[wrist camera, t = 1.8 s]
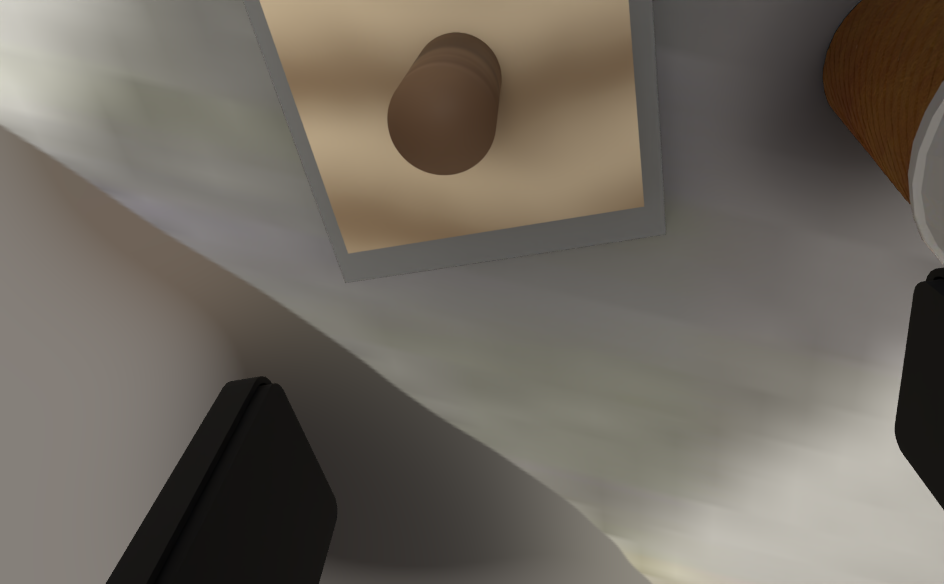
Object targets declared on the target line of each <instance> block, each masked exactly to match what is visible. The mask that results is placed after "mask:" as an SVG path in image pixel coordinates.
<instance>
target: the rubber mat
mask: <svg viewBox="0 0 944 584" xmlns="http://www.w3.org/2000/svg"><path fill="white" fill-rule="evenodd" d="M243 3H244V5H245V8H246V11H247V14H248V16H249V19H250V22H251V25H252V27H253V30H254V33H255V36H256V38H257V41H258V44H259V47H260V49H261V52H262V55H263V58H264V60H265V63H266V66H267V69H268V71H269V74H270V77H271V80H272V82H273V85H274V88H275V91H276V93H277V96H278V99H279V102H280V105H281V107H282V110H283V113H284V116H285V118H286V121H287V124H288V127H289V129H290V132H291V135H292V138H293V140H294V143H295V146H296V149H297V151H298V154H299V157H300V160H301V162H302V165H303V168H304V171H305V173H306V176H307V179H308V182H309V184H310V187H311V190H312V193H313V195H314V198H315V201H316V204H317V206H318V209H319V212H320V215H321V217H322V220H323V223H324V226H325V228H326V231H327V234H328V237H329V239H330V242H331V245H332V248H333V250H334V253H335V256H336V259H337V261H338V264H339V267H340V270H341V272H342V275H343V278H344V281H345V283H349V282H355V281H362V280H368V279H375V278H382V277H388V276H395V275H402V274H408V273H415V272H421V271H428V270H435V269H441V268H448V267H455V266H461V265H468V264H474V263H481V262H488V261H494V260H501V259H508V258H514V257H521V256H527V255H534V254H541V253H547V252H554V251H560V250H567V249H574V248H580V247H587V246H594V245H600V244H607V243H613V242H620V241H627V240H633V239H640V238H647V237H653V236H660V235H666V224H665V207H664V189H663V172H662V155H661V138H660V121H659V104H658V87H657V70H656V52H655V35H654V18H653V1H652V0H629V13H630V26H631V39H632V53H633V66H634V79H635V92H636V105H637V118H638V131H639V144H640V158H641V171H642V184H643V197H644V207H638V208H632V209H625V210H619V211H613V212H606V213H600V214H594V215H588V216H581V217H575V218H569V219H562V220H556V221H550V222H544V223H537V224H531V225H525V226H518V227H512V228H506V229H500V230H493V231H487V232H481V233H474V234H468V235H462V236H456V237H449V238H443V239H437V240H430V241H424V242H418V243H412V244H405V245H399V246H393V247H386V248H380V249H374V250H368V251H361V252H355V253H349V254H348V251H347V249H346V246H345V243H344V240H343V237H342V234H341V232H340V229H339V226H338V223H337V220H336V217H335V214H334V212H333V209H332V206H331V203H330V200H329V197H328V195H327V192H326V189H325V186H324V183H323V180H322V177H321V175H320V172H319V169H318V166H317V163H316V160H315V157H314V155H313V152H312V149H311V146H310V143H309V140H308V138H307V135H306V132H305V129H304V126H303V123H302V120H301V118H300V115H299V112H298V109H297V106H296V103H295V100H294V98H293V95H292V92H291V89H290V86H289V83H288V81H287V78H286V75H285V72H284V69H283V66H282V63H281V61H280V58H279V55H278V52H277V49H276V46H275V44H274V41H273V38H272V35H271V32H270V29H269V26H268V24H267V21H266V18H265V15H264V12H263V9H262V6H261V4H260V1H259V0H243Z"/></svg>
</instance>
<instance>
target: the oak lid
mask: <svg viewBox="0 0 944 584" xmlns="http://www.w3.org/2000/svg"><path fill="white" fill-rule="evenodd" d="M259 1H260V4H261V6H262V9H263V12H264V15H265V18H266V21H267V24H268V26H269V29H270V32H271V35H272V38H273V41H274V44H275V46H276V49H277V52H278V55H279V58H280V61H281V63H282V66H283V69H284V72H285V75H286V78H287V81H288V83H289V86H290V89H291V92H292V95H293V98H294V100H295V103H296V106H297V109H298V112H299V115H300V118H301V120H302V123H303V126H304V129H305V132H306V135H307V138H308V140H309V143H310V146H311V149H312V152H313V155H314V157H315V160H316V163H317V166H318V169H319V172H320V175H321V177H322V180H323V183H324V186H325V189H326V192H327V195H328V197H329V200H330V203H331V206H332V209H333V212H334V214H335V217H336V220H337V223H338V226H339V229H340V232H341V234H342V237H343V240H344V243H345V246H346V249H347V251H348V254H349V253H355V252H361V251H368V250H374V249H380V248H386V247H393V246H399V245H405V244H412V243H418V242H424V241H430V240H437V239H443V238H449V237H456V236H462V235H468V234H474V233H481V232H487V231H493V230H500V229H506V228H512V227H518V226H525V225H531V224H537V223H544V222H550V221H556V220H562V219H569V218H575V217H581V216H588V215H594V214H600V213H606V212H613V211H619V210H625V209H632V208H638V207H644V197H643V184H642V171H641V158H640V144H639V131H638V118H637V105H636V92H635V79H634V66H633V53H632V39H631V26H630V13H629V0H259Z"/></svg>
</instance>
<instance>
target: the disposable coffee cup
mask: <svg viewBox="0 0 944 584" xmlns="http://www.w3.org/2000/svg"><path fill="white" fill-rule="evenodd" d="M823 84H824V91H825V95H826V98H827V100H828V103H829V105H830V106H831V108H832V109H833V111H834V112H835V113H836V114H837V115H838V117H839V118H840V119H841V120H842V122H843V123H844V124H845V125H846V127H847V128H848V129H849V130H850V132H851V133H852V134H853V135H854V137H855V138H856V139H857V140H858V141H859V142H860V143H861V145H862V146H863V147H864V149H865V150H866V151H867V152H868V153H869V154H870V156H871V157H872V158H873V159H874V161H875V162H876V163H877V165H878V166H879V167H880V168H881V170H882V171H883V172H884V174H885V175H886V176H887V177H888V178H889V180H890V181H891V182H892V183H893V184H894V186H895V187H896V188H897V190H898V191H899V192H900V193H901V194H902V196H903V197H904V198H905V199H906V200H907V201H908V202H909V204H910V205H911V208H912V213H913V218H914V221H915V223H916V226H917V228H918V231H919V233H920V236H921V238H922V240H923V241H924V242H925V244H926V245H927V246H928V247H929V248H930V250H931V251H932V252H933V253H934V254H935V256H936V257H937V258H938V259H939V260H940V261H941V263H942V264H943V265H944V0H862V1H861V2H860V3H859V4H858V5H857V6H856V7H855V8H854V9H853V10H852V11H851V12H850V13H849V14H848V16H847V17H846V18H845V19H844V21H843V22H842V24H841V25H840V27H839V28H838V30H837V31H836V33H835V35H834V37H833V39H832V42H831V44H830V46H829V49H828V51H827V54H826V59H825V63H824V68H823Z"/></svg>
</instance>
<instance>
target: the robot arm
mask: <svg viewBox="0 0 944 584" xmlns="http://www.w3.org/2000/svg"><path fill="white" fill-rule="evenodd" d="M895 436H896V440H897V443H898V446H899V448H900V450H901V452H902V453H903V455H904V456H905V458H906V459H907V460H908V462H909V463H910V464H911V466H912V467H913V468H914V470H915V471H916V473H917V474H918V475H919V477H920V478H921V479H922V481H923V482H924V483H925V485H926V486H927V488H928V489H929V490H930V492H931V493H932V494H933V496H934V497H935V498H936V500H937V501H938V503H939V504H940V505H941V507H942V508H943V509H944V268H938V269H934V270H933V271H931V272H930V273H929V275H928V276H927V279H926V281H924V282H920V283H918V284H917V286H916V287H915V290H914V294H913V301H912V308H911V315H910V322H909V329H908V336H907V343H906V350H905V358H904V365H903V372H902V379H901V386H900V393H899V400H898V407H897V414H896V421H895ZM336 520H337V504H336V499H335V497H334V494H333V492H332V490H331V488H330V486H329V484H328V482H327V480H326V478H325V475H324V473H323V471H322V469H321V467H320V465H319V463H318V461H317V459H316V457H315V455H314V453H313V451H312V449H311V446H310V444H309V442H308V440H307V438H306V436H305V434H304V432H303V430H302V428H301V426H300V423H299V421H298V419H297V417H296V415H295V413H294V411H293V409H292V407H291V405H290V403H289V401H288V399H287V397H286V395H285V392H284V390H283V389H282V387H281V386H280V385H279V384H276V383H275V384H272V383H271V381H270V380H269V379H268V378H266V377H263V376H260V377H254V378H248V379H242V380H236V381H230V382H228V383H226V385H225V386H224V387H223V388H222V390H221V392H220V394H219V395H218V397H217V399H216V400H215V402H214V404H213V405H212V407H211V409H210V410H209V412H208V414H207V415H206V417H205V419H204V420H203V422H202V424H201V425H200V427H199V429H198V430H197V432H196V434H195V435H194V437H193V439H192V441H191V442H190V444H189V445H188V447H187V449H186V450H185V452H184V454H183V456H182V457H181V459H180V460H179V462H178V464H177V465H176V467H175V469H174V470H173V472H172V474H171V475H170V477H169V479H168V480H167V482H166V484H165V485H164V487H163V489H162V490H161V492H160V494H159V496H158V497H157V499H156V501H155V502H154V504H153V506H152V507H151V509H150V511H149V512H148V514H147V515H146V517H145V519H144V521H143V522H142V524H141V526H140V527H139V529H138V531H137V532H136V534H135V536H134V537H133V539H132V541H131V542H130V544H129V546H128V547H127V549H126V551H125V552H124V554H123V556H122V557H121V559H120V561H119V562H118V564H117V566H116V567H115V569H114V571H113V572H112V574H111V576H110V577H109V579H108V581H107V582H106V584H319V581H320V577H321V574H322V570H323V566H324V563H325V560H326V556H327V552H328V549H329V545H330V541H331V538H332V534H333V531H334V527H335V523H336Z"/></svg>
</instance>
